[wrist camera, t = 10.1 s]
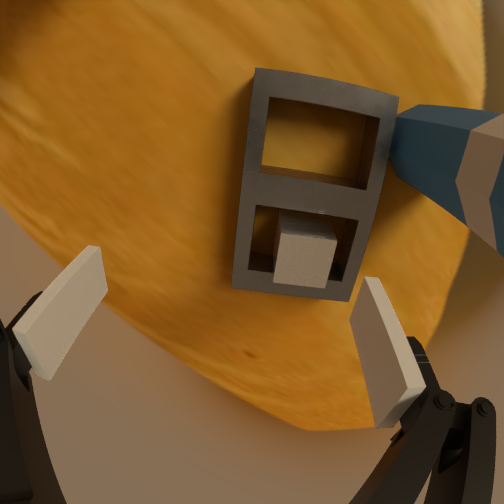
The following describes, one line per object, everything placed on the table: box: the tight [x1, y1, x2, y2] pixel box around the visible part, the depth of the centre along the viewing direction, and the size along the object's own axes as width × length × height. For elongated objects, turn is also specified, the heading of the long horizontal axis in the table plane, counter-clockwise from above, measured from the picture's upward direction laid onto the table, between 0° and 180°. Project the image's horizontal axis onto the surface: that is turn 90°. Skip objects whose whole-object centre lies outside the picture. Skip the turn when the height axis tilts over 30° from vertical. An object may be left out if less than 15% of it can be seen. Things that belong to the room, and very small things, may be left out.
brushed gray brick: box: [273, 208, 337, 288], centre depth 30 cm, size 5×5×7 cm
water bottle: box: [389, 104, 504, 257], centre depth 16 cm, size 9×9×25 cm
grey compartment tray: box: [231, 68, 399, 302], centre depth 29 cm, size 22×13×4 cm, turn 173°
